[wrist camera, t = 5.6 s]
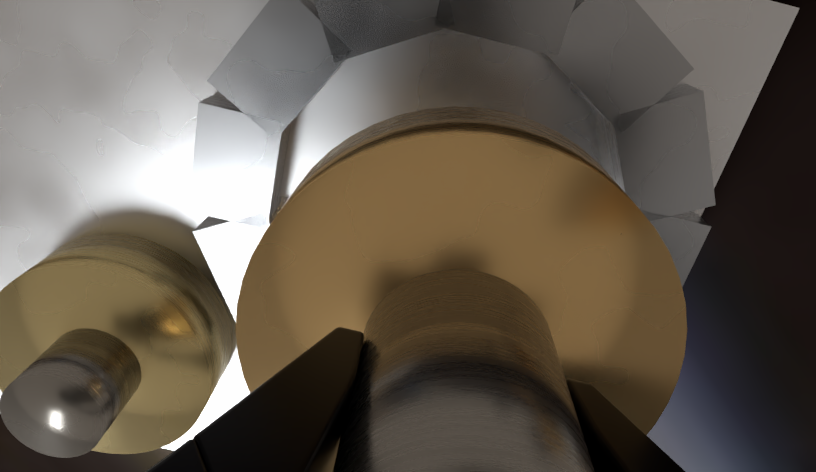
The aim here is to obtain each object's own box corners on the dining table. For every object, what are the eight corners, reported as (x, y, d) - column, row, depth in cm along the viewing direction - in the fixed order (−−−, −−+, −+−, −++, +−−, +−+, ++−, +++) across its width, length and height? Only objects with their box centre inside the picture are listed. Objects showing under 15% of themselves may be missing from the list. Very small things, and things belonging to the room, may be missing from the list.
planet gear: (709, 162, 10) (1052, 388, 4) (569, 468, 13) (669, 844, 7) (300, 60, 10) (110, 166, 4) (247, 398, 12) (92, 734, 7)
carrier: (771, 6, 14) (938, 18, 10) (546, 501, 21) (578, 654, 16) (-16, -201, 13) (-268, -303, 9) (12, 387, 20) (-120, 513, 15)
